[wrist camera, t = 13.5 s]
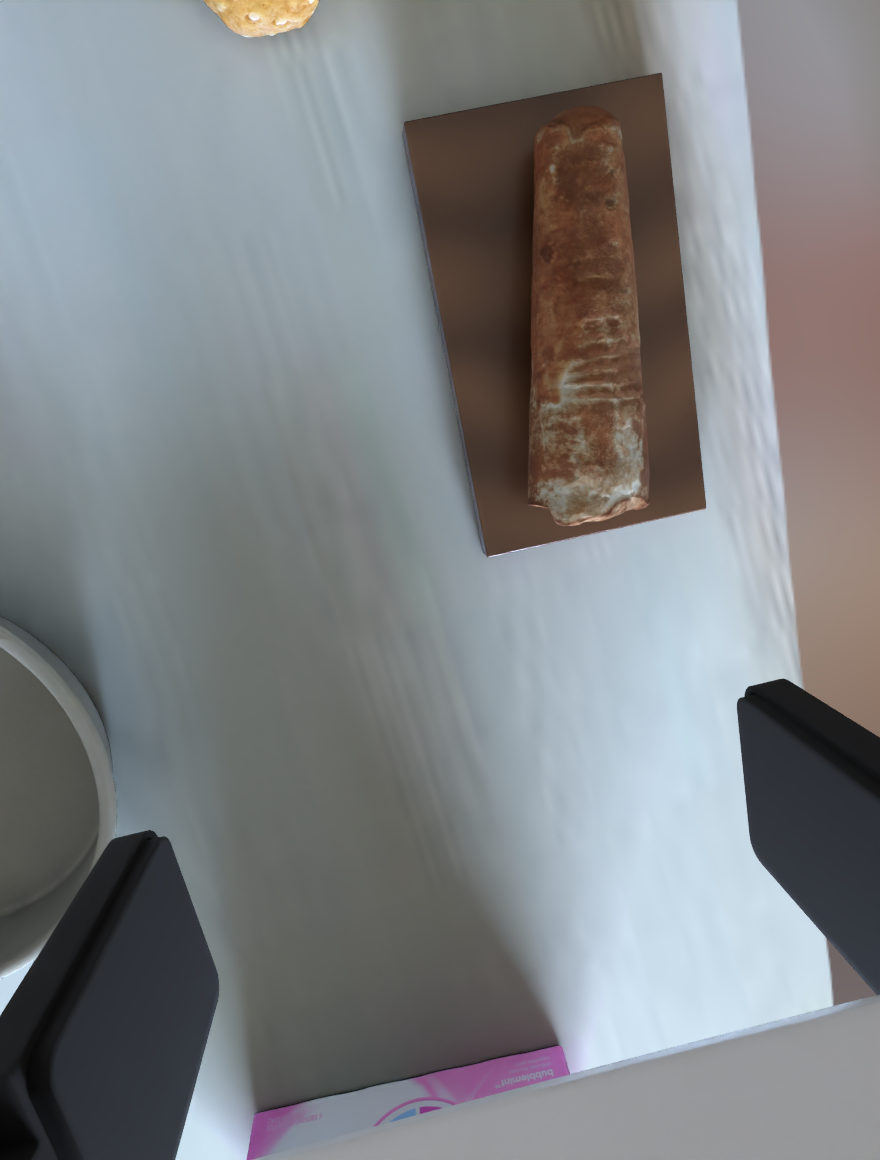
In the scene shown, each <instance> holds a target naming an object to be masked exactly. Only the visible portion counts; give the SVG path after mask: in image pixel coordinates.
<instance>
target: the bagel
mask: <svg viewBox="0 0 880 1160" xmlns="http://www.w3.org/2000/svg"><path fill="white" fill-rule="evenodd" d="M204 1H205V3H206V4H207V5H208V6H209V7H210V8H211V10H212V11H214V12H215V13H216V14H217V15H218V16H219V17H220V18H221V20H222V21H223V22H224V23H225V24H226V26H227V27H228V28H229V29H231V30H232V31H233V32H235V33H237V34H239V35H242V36H244V37H257V36H264V35H270V36H273V35H275V34H277V33H282V32H287V31H290V30H292V29H295V28H302V27H303V26H304V25H305V23H306V22H307V21H308V20H309V19H310V17H311V16H312V14H313V13H314V11H315V9H316V7H317V5H318V2H319V0H204Z"/></svg>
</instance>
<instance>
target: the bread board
mask: <svg viewBox="0 0 880 1160" xmlns="http://www.w3.org/2000/svg"><path fill="white" fill-rule="evenodd" d="M586 105H588V106H596V107H600V108H603V109H605V110H606V111H608V112H610V113H611V114H612V115H613V116H614V117H615V118H616V119H617V120H618V121H619V123H620V126H621V133H622V144H623V152H624V158H625V166H626V175H627V186H628V196H629V216H630V224H631V235H632V243H633V252H634V263H635V276H636V288H637V302H638V320H639V332H640V358H641V373H642V389H643V397H644V400H645V404H646V408H645V414H646V427H647V441H648V458H649V493H648V496H649V500H650V504H649V505H648V506H647V507H646V508H642V509H638V510H635V509H632V510H628V511H625V512H623V513H622V514H620V515H617V516H614V517H612V518H610V519H607V520H603V521H590V522H584V523H582V524H580V525H575V526H561V525H558V524H556V522H555V521H554V519H553V517H552V515H551V512H550V510H549V509H548V508H542V507H536V506H529V505H528V454H529V405H530V394H531V391H530V388H531V374H532V368H531V360H532V351H531V290H532V262H533V218H534V137H535V134H536V133H537V132H538V131H539V129H540V128H541V127H542V126H543V125H545V124H547V123H549V122H550V121H551V120H552V119H553V118H554V117H555V116H556V115H558V114H559V113H561V112H562V111H564V110H567V109H570V108H572V107H575V106H586ZM402 136H403V141H404V146H405V152H406V157H407V162H408V167H409V172H410V177H411V183H412V188H413V193H414V198H415V203H416V208H417V214H418V219H419V224H420V229H421V234H422V240H423V245H424V250H425V255H426V260H427V265H428V271H429V276H430V281H431V286H432V291H433V297H434V302H435V307H436V312H437V317H438V322H439V328H440V333H441V338H442V343H443V348H444V354H445V359H446V364H447V369H448V374H449V379H450V385H451V390H452V395H453V400H454V405H455V410H456V416H457V421H458V426H459V431H460V436H461V442H462V447H463V452H464V457H465V462H466V467H467V473H468V478H469V483H470V488H471V493H472V499H473V504H474V509H475V514H476V519H477V524H478V530H479V535H480V540H481V545H482V550H483V553H484V554H485V555H486V556H487V557H493V556H497V555H502V554H506V553H511V552H515V551H520V550H524V549H528V548H533V547H537V546H542V545H546V544H551V543H555V542H560V541H564V540H569V539H573V538H578V537H582V536H586V535H591V534H595V533H600V532H604V531H609V530H613V529H618V528H622V527H627V526H631V525H636V524H640V523H645V522H649V521H653V520H658V519H662V518H667V517H671V516H676V515H680V514H685V513H689V512H694V511H698V510H703V509H706V500H705V491H704V481H703V471H702V461H701V452H700V442H699V432H698V422H697V412H696V403H695V393H694V383H693V373H692V364H691V354H690V344H689V334H688V325H687V315H686V305H685V295H684V285H683V276H682V266H681V256H680V246H679V237H678V227H677V217H676V207H675V197H674V188H673V178H672V168H671V158H670V149H669V139H668V129H667V119H666V110H665V100H664V90H663V80H662V73H657V74H652V75H647V76H641V77H636V78H631V79H626V80H621V81H615V82H610V83H605V84H600V85H594V86H589V87H584V88H579V89H574V90H568V91H563V92H558V93H553V94H548V95H542V96H537V97H532V98H527V99H521V100H516V101H511V102H506V103H501V104H495V105H490V106H485V107H480V108H475V109H469V110H464V111H459V112H454V113H448V114H443V115H438V116H433V117H428V118H422V119H417V120H412V121H407V122H404V126H403V135H402Z"/></svg>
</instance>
